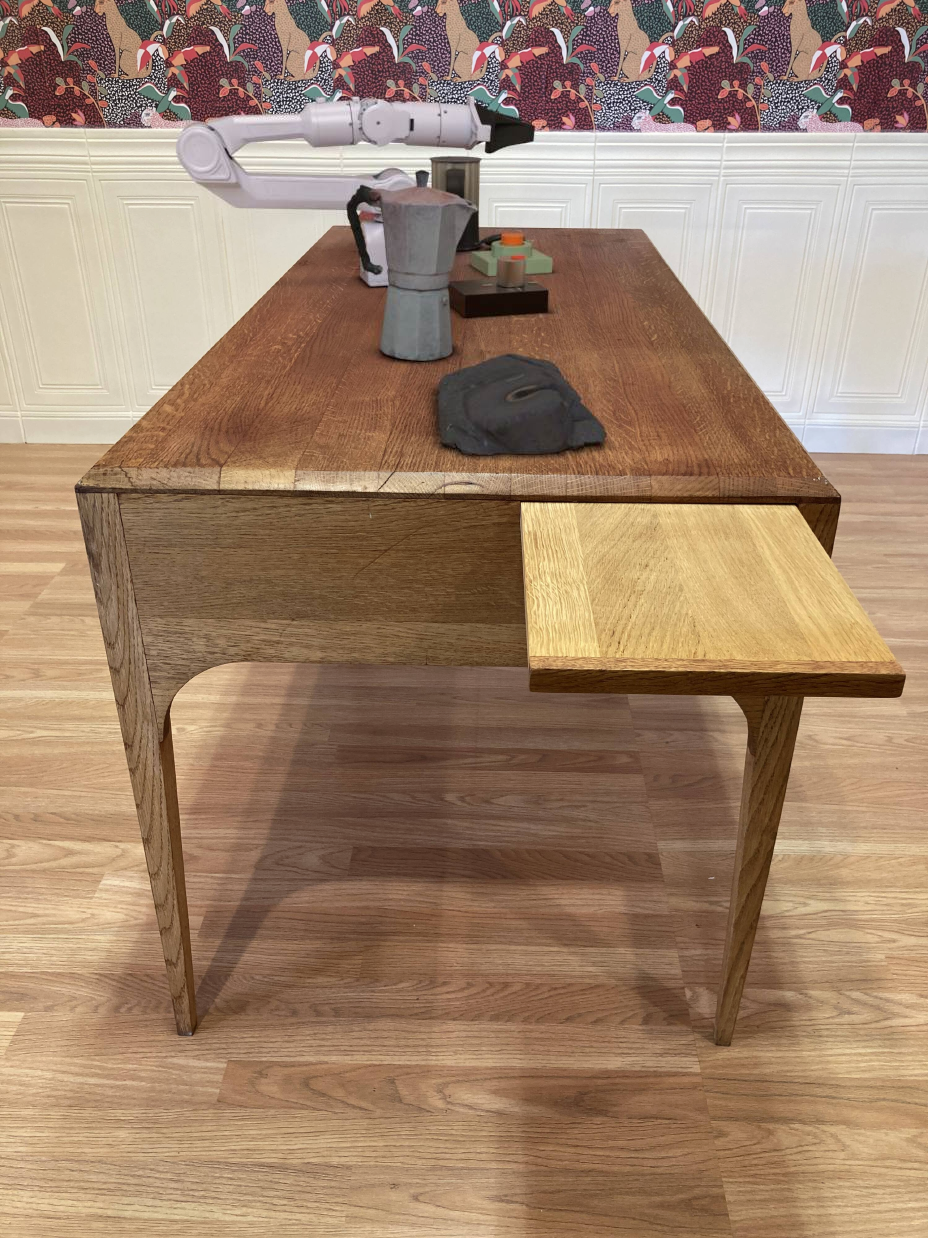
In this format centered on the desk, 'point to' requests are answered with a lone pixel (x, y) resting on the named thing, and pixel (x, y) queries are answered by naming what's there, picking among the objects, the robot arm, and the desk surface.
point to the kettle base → (488, 259)
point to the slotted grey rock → (513, 409)
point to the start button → (512, 239)
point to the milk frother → (462, 192)
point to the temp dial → (511, 271)
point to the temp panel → (496, 298)
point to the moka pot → (415, 264)
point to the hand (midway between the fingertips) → (527, 129)
